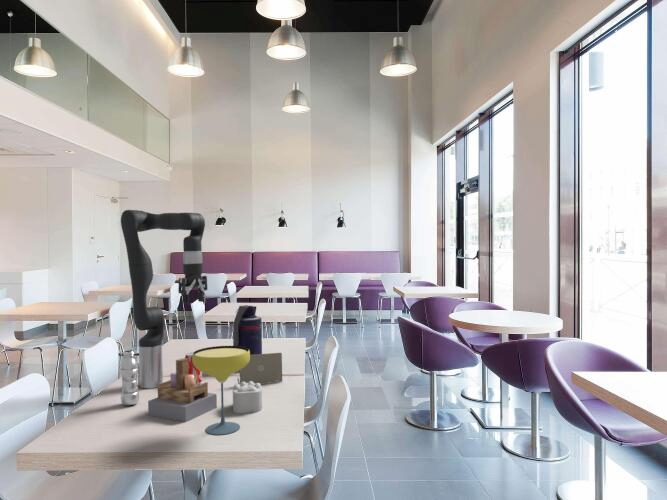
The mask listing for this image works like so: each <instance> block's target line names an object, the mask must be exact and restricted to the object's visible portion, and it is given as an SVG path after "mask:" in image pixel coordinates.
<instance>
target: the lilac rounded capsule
mask: <svg viewBox="0 0 667 500" xmlns="http://www.w3.org/2000/svg"><path fill="white" fill-rule="evenodd" d="M170 380H171V388H176V372H173V373H170Z"/></svg>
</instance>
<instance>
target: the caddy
mask: <svg viewBox="0 0 667 500" xmlns="http://www.w3.org/2000/svg"><path fill="white" fill-rule="evenodd" d="M175 373H176V388H171V379H169V380H166V381H163V383H161V384H158V385H157V386H158V387H157V397H158V398H159V399H166V400H172V401H178V402H185V403H193V402H194V396H198V397H207V396H208V393H209V392H208V389H209V388H208V384H209V383H208V381H207V382H203V383H201V384H199V385H195V387H192V388H190V389H188V390H185V378H184V376H185V375H189V368H188V359H185V357H184V358H178V359H176V360H175Z"/></svg>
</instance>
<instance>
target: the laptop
mask: <svg viewBox="0 0 667 500" xmlns="http://www.w3.org/2000/svg"><path fill="white" fill-rule="evenodd" d="M237 380H238V385H239V384H241V382H245V383H249V382H250V381H253V383H255V384H256V383H260V384H261V385H263V384H265V383H267V384H277V382H278V383H283V353H282V352H275V353H274V352H272V353H271V352H270V353H262V354H255V355H250V360H249V362H248V364H247V365H246V366H245V367H244V368H242V369H241V370H239V377H237Z"/></svg>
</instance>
